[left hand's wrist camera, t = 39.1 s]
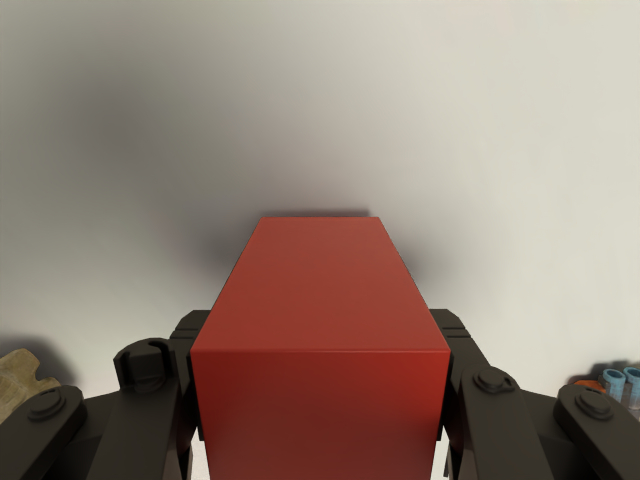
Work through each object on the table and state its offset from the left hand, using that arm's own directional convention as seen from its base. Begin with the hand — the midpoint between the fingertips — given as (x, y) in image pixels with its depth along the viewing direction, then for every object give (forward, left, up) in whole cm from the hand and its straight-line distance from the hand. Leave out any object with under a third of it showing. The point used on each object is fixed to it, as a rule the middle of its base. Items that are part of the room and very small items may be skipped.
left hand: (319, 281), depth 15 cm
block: (0, 0, -1) cm, 1 cm away
